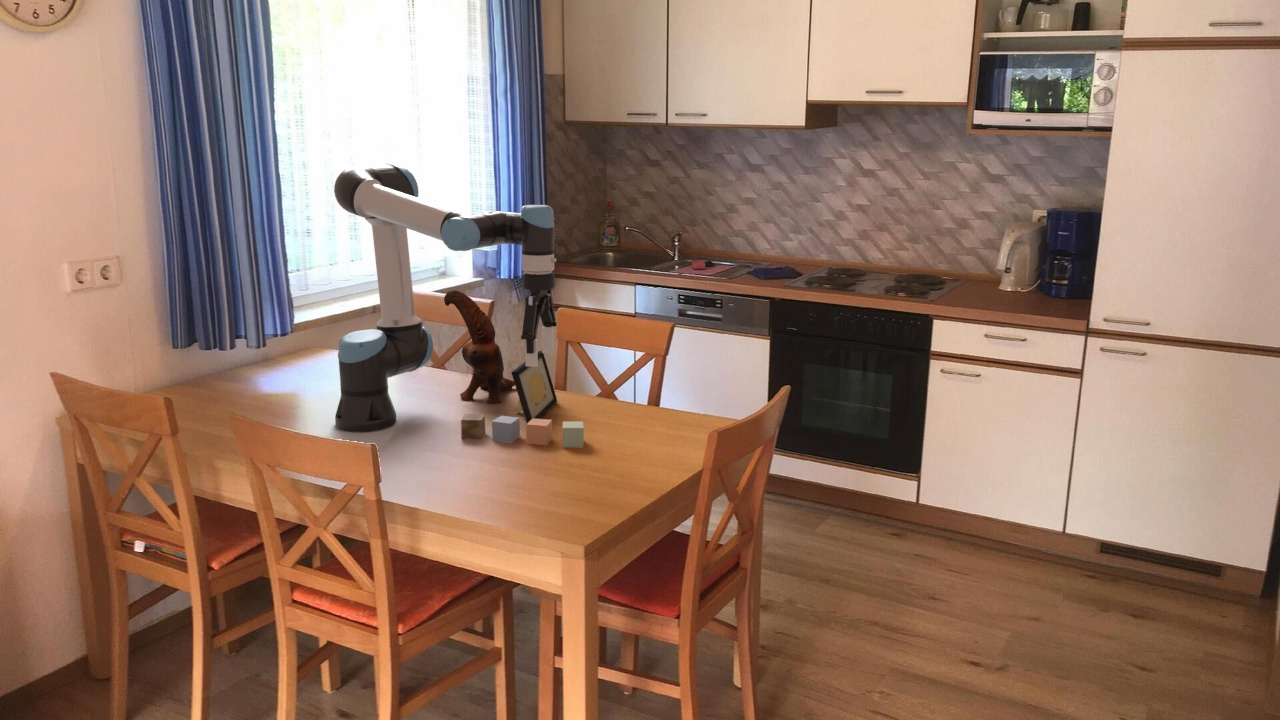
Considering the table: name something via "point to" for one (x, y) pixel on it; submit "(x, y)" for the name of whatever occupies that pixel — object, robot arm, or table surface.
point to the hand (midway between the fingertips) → (539, 359)
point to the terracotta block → (539, 431)
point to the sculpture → (480, 350)
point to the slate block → (506, 429)
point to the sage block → (573, 434)
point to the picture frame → (534, 389)
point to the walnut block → (473, 426)
